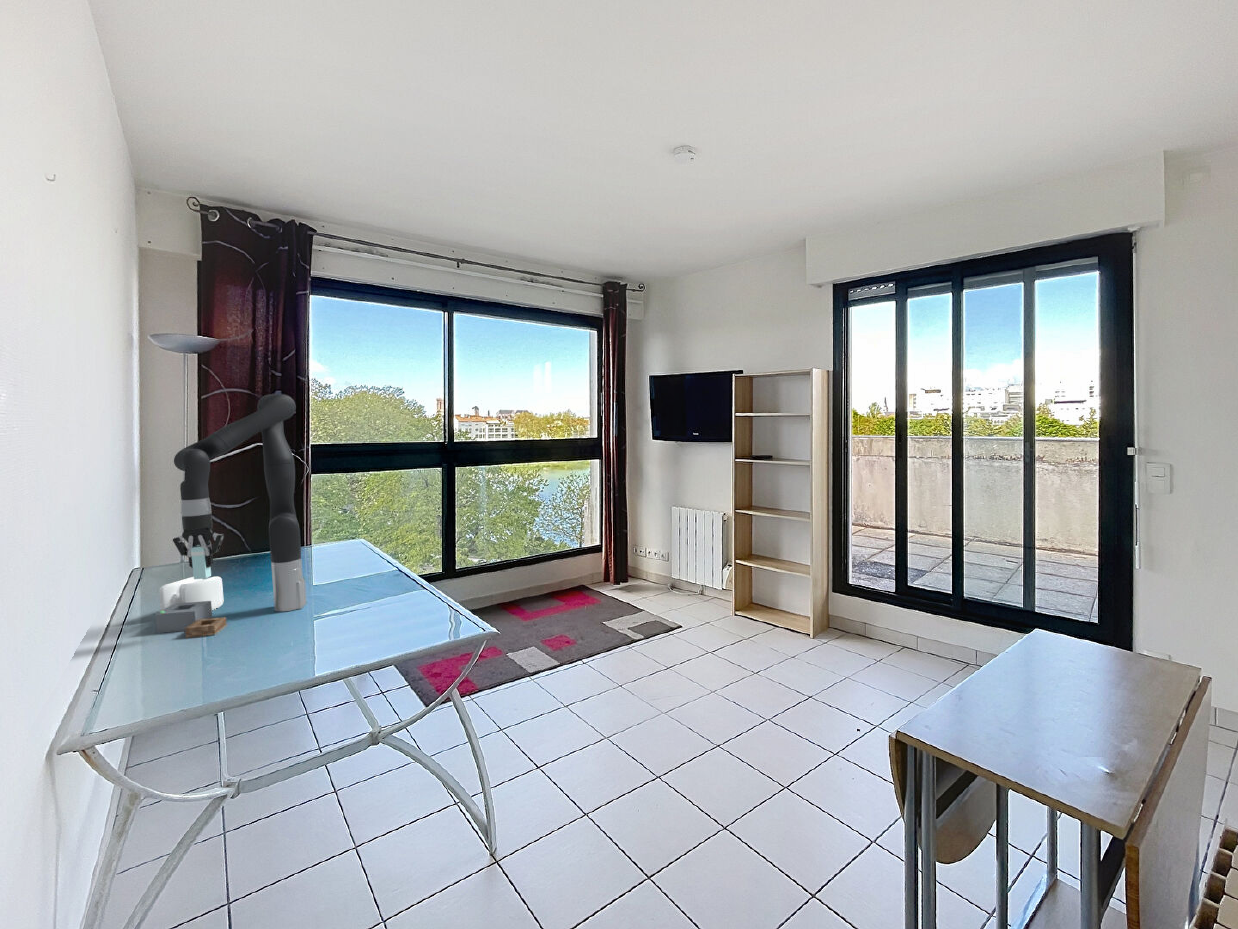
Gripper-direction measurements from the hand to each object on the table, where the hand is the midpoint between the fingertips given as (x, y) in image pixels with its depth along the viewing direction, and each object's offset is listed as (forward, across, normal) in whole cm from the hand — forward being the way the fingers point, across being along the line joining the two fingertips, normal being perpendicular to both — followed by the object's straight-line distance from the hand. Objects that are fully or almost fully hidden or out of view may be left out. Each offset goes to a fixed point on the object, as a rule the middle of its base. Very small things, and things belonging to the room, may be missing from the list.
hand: (201, 567), depth 181 cm
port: (+21, +10, -9) cm, 25 cm away
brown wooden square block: (+21, 0, 0) cm, 21 cm away
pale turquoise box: (+3, 0, 0) cm, 3 cm away
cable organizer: (+21, +14, -23) cm, 34 cm away
